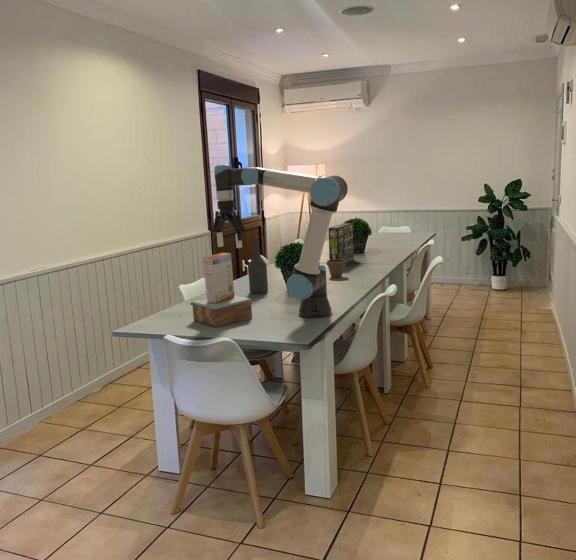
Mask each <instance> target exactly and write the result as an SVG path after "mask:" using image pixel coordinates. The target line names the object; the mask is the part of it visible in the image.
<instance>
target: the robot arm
mask: <svg viewBox="0 0 576 560" xmlns="http://www.w3.org/2000/svg"><path fill="white" fill-rule="evenodd" d="M213 171H214V175H213V176H214V181H215V194H216V200H217V209H218V210H217V211H215V217H214V222H213V225H212V226H213V228H212V231H213V232H215V233H216V234H215V236H216V241H217V247H218V248H221V247H224V246H225V245H224V236H223V230H222V229H223V227H224V226H225V223H226V222H228V223H230V225H231V227H232V228H233V230H234V231H235V233H234V236H235V245H236V246H235V247H236V249H241V248H243V234H242V233H243V232H245V231H246V230H245V227H244V225H243V222H242V220H241V218H240V214H239V210H234V209H235V206H236V205H235V201H234V197H235V196H234V190H233V189H234V187H237V186H252V185H260V186H267V187H272V188H279V189H284V190H288V191H289V190H291V191H297V192H300V193H301V192H302V193H306V194H307V193H308V194H309V195H310V198H311V199H310V203H309V207H310V208H311V213H310V215H309V217H310V218H309V221H308V224H307V225H308V226H307V228H306V229H307V230H306V233H305V235H304V236H305V237H304V240H303V245H302V248H301V251H300V252H301V253H300V257H299V260H298V262H297V263H296V264H294V266H293V270H292V273H291V276H289V278H287V281H286V283H285V284H286V290H287V293H288V294H289V296H290V297H292V299H295V300H297V301H298V300H299V301H300V304H299V308H298V315H299V316H300V317H303V318H311V319H312V318H314V319H315V318H322V317H326V316H330V315H331V314H332V312H333V311H332V307H331V304H330V300H329V299H328V291H327V290H328V288H327V285H328V284H327V269H326V268H327V267H326V266H325V265H324V264H320V262H321V257H322V253H323V250H324V246H325V242H326V240H327V239H326V238H327V234H328V233H329V229H328V228H330V224H331V220H332V216H333V214H336V213H337V211H338V207H339V204H340V202H342V201H343V200H345V198H346V196H347V194H348V190H349V189H348V188H349V187H348V184H347V182H346V180H345V179H344V178H343V177H341V176H340V175H324V174H320V175H318V176H316V175H308V174H304V173H303V174H302V173H296V172H289V171H284V170H275V169H270V168H269V169H268V168H264V167H260V166H256V167H255V166H254V167H252V166H251V167H250V166H249V167H248V166H247V167H241V168H240V167H239V168H232V165H230V164H221V165H220V164H219V165H215V166H214V169H213Z"/></svg>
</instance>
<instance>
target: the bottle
mask: <svg viewBox="0 0 576 560" xmlns="http://www.w3.org/2000/svg"><path fill="white" fill-rule="evenodd" d="M252 250H253V252H252V257H251V258H250V262H249V263H248V266H247V268H248V269H247V270H248V271H247V272H248V284H249V286H248V287H249V292H250V294H252V295H263V294H267V293H268V291H269V285H268V268H267V267H268V265H267V262H265V260H264V259H263V257H262V256H261V253H260V247H259V242H258V238H253V249H252Z"/></svg>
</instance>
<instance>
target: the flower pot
mask: <svg viewBox="0 0 576 560" xmlns="http://www.w3.org/2000/svg"><path fill="white" fill-rule="evenodd" d="M345 262H346V261H345V260H340V259H335V260H326V265H327V266H328V270H329V275H330V277H331V278H332V277H334V278H333V279H338V278H337V277H340V278H342V277H341V276H343V274H344V273H343V272H344V268H345V266H346V265H345Z"/></svg>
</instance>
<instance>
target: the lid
mask: <svg viewBox="0 0 576 560" xmlns="http://www.w3.org/2000/svg"><path fill="white" fill-rule="evenodd" d="M248 301H251V298H249V297H243V296H239V295H235V297H232V298H229V299H227V300H224V301H222V302H219V303H208V302H207V298H204V299H200V300H199V299H198V300H194V301H192V303H193V304H195V305H199V306H203V307H207V308H211V309H219V308H223V307H227V306H231V305H236V304H240V303H244V302H248ZM251 302H252V301H251Z"/></svg>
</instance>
